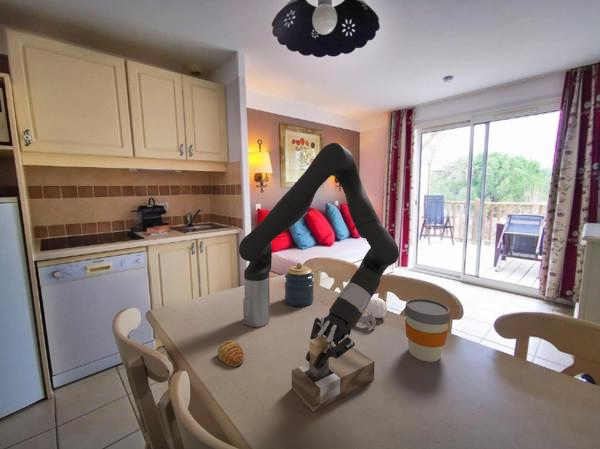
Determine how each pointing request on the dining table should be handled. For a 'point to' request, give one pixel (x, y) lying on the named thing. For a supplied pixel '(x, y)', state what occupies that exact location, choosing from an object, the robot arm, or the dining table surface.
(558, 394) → the dining table surface
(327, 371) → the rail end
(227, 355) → the pastry
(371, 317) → the caliper
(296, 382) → the notched wooden block
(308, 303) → the canister
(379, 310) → the geometric ball
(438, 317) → the reusable coffee cup
